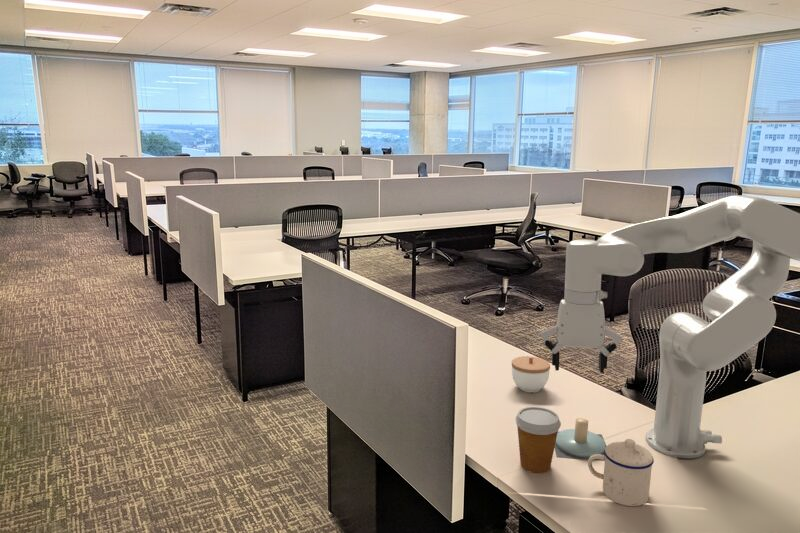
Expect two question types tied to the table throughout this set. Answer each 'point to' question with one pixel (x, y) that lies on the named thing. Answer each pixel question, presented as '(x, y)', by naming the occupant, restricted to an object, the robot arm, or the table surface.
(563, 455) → the mat
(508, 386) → the table surface
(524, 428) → the disposable coffee cup
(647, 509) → the table surface
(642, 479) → the teacup with lid
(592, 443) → the cover
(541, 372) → the lidded jar
